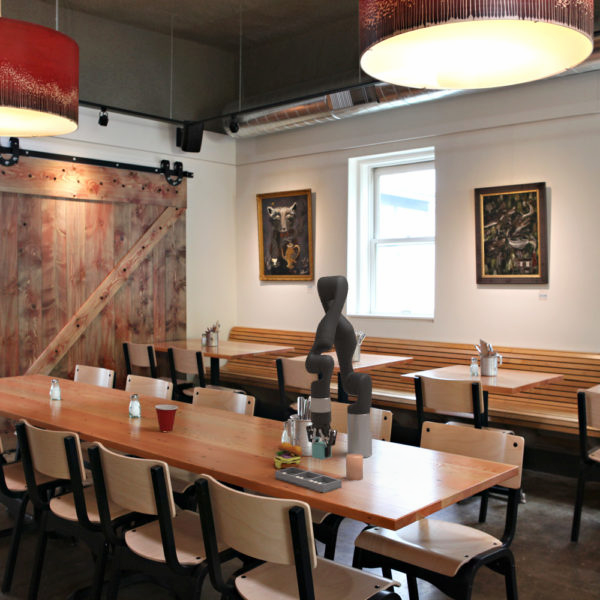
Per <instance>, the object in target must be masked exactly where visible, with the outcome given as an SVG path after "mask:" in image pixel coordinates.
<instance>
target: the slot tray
mask: <svg viewBox="0 0 600 600" xmlns="http://www.w3.org/2000/svg"><path fill="white" fill-rule="evenodd" d="M274 475H275V476H274V478H275V480H279V481H283V482H286V483H288V484H292V485H296V486H298V487H299V486H300V487H303V488H305V489H309V490H312V491H315V492H319V493H321V492H323V493H322V494H325V492H326V493H329V492H332V491H335V489H336V490H339V489H341V488H342V484H343V481H342V479H338V478H335V477H331V476H328V475H325V474H322V473H321V474H320V473H317V472H315V471H314V472H313V471H310V470H306V469H303V468H300V467H290V468H281V469H279V470H275V472H274ZM338 488H339V489H338Z"/></svg>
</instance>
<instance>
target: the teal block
mask: <svg viewBox="0 0 600 600" xmlns="http://www.w3.org/2000/svg"><path fill="white" fill-rule="evenodd" d="M327 444H328V442H327ZM332 450H333V449H332V447H331V456H330V457H328V458H326V457H325V446H324V442H323V441H322V440H321V441H320V440H319V442H316V443H313V444H312V443H311V457H312V458H313V459H317V460H321V461H323V460H327V459H329V458H332V455H333V454H332V453H333V451H332Z"/></svg>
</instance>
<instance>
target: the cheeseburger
mask: <svg viewBox="0 0 600 600" xmlns="http://www.w3.org/2000/svg"><path fill="white" fill-rule="evenodd" d="M278 449H279V450H280V451H277V452H275V456H274V458H273V461H274V466H275V468H276V469H279V470H281V469H286V468H290V467H296V468H299V467H298V466H299V465H300V462H301V457H302V456H303V451H302V450H303V449H302V447H301V446H299V445H296V444H294V445H292V444H291V443H290V442H287V441H284V442H282V443H281V444H280V445H279V447H278Z"/></svg>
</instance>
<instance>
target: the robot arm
mask: <svg viewBox="0 0 600 600" xmlns="http://www.w3.org/2000/svg"><path fill="white" fill-rule="evenodd" d="M316 290H317V293H318V294H317V295H318V297H319V300H320V303H321V306H322V308H323V311H324V313H325V314H324V315H323V317H322V318H321V320H320V322H318V325H317V327H316V331H315V336H314V340H313V344H312V346H311V348H310V350H309V352H308V354H307V356H306V358H305V362H304V363H305V364H304V367H305V370H306V372H307V373H308V374H311V375H322V378H321V379H317V380H316V379H315V380H312V382H311V383H310V406H309V407H310V422H311V424H309V425H306V426H305V429H306V435H307V441H308V443H311V445H312V444H313V443H316V442H320V439H321V441H323V442H324V446H325V457H326V458H327V459H329V458H328V457H330V456H331V448H332V447H333V446H335V445H336V443H337V436H338V430H337V429H332V426H331V423H332V401H331V382H332V378H333V373H334V369H335V360H334V357H332V355H330V354H323V353H325V352H329V351H332V349H333V347H334V349H335V350H334V351H335V353H336V358H337V362H338V366H339V373H340V378H341V385H342V389H343V391H344V393H345V394H347V395H349V396H353V397H354V396H356V397H357V399H356V402H354V403H350V404H348V405H347V407H346V414H347V415H346V416H347V417H346V421H347V422H346V423H347V425H346V427H347V430H346V431H347V433H346V434H347V435H346V437H347V439H346V442H347V444H346V445H347V446H346V447H347V454H346V455H348V454H361V455H363V459H364V458H368V457H370V456H371V455H373V438H372V437H373V432H372V430H371V408H372V402H373V399H372V398H373V381H372V380H373V379H372V376H371V375H370V374H369V373H364V372H355V370H354V367H353V357H354V354H355V352H356V349H357V345H358V340H357V335H356V332H355V327H354V326H353V324H352V323H351V322H350V321H349V320H348V319H347V318H346V316H345V315H344V314H343V313H342V312H343V309H344V306H345V304H346V300H347V298H348V293H349V282H348V279H347V278H346V277H345V276H344V275H329V276H328V275H327V276H321V277H319V278H318V280H317V283H316ZM327 442H328V444H327ZM330 458H331V457H330Z"/></svg>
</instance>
